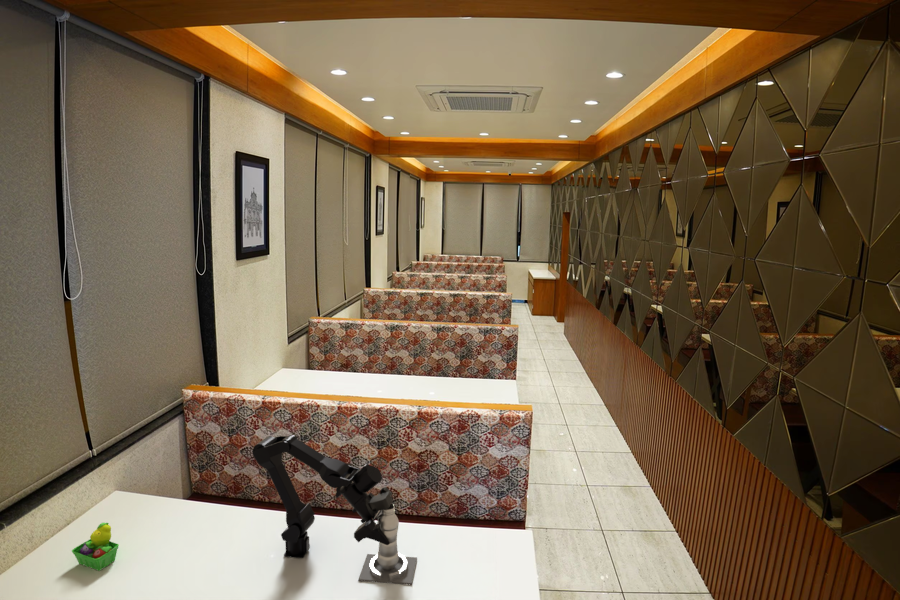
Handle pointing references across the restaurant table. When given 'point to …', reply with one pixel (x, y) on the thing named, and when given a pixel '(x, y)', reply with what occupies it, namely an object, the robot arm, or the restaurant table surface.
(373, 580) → the ring mat
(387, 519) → the plastic bottle
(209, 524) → the restaurant table surface
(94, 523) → the restaurant table surface
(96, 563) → the fruit basket
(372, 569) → the split ring
